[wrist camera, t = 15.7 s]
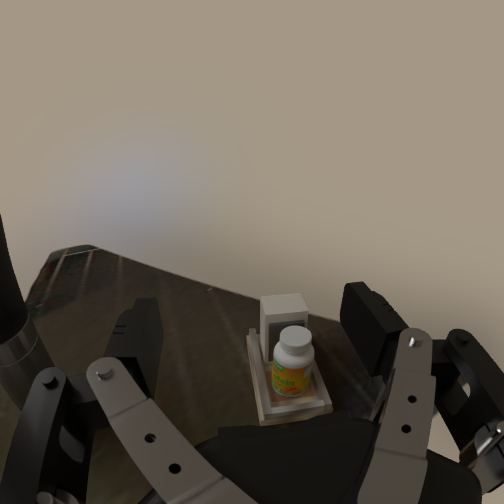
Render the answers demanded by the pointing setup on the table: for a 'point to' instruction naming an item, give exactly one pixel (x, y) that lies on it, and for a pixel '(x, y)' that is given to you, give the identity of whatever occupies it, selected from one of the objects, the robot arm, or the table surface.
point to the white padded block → (279, 320)
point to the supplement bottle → (292, 361)
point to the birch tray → (280, 407)
